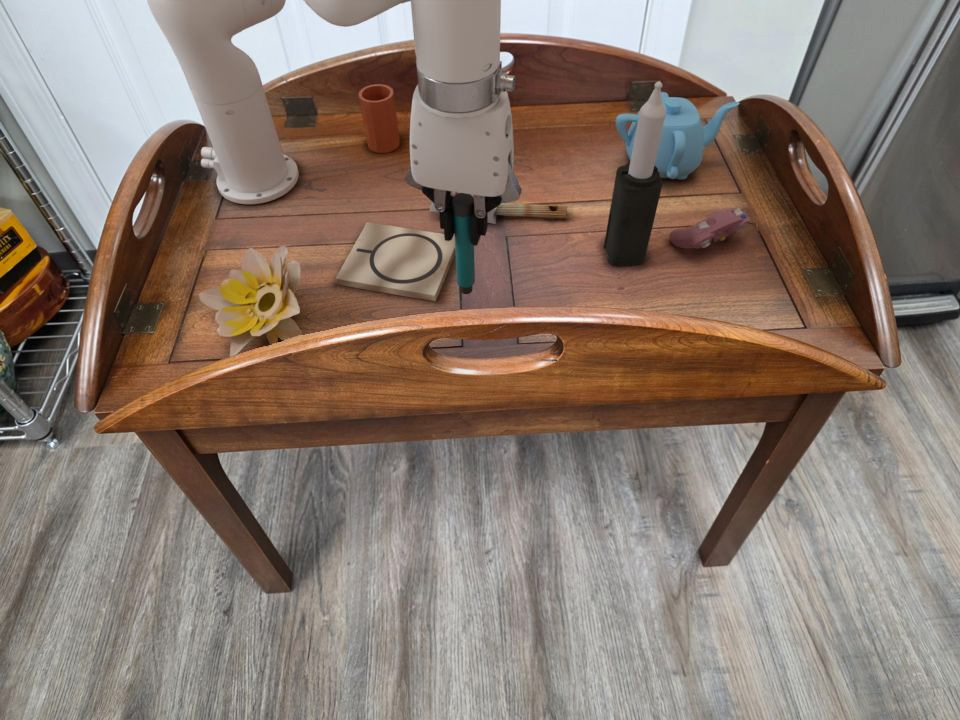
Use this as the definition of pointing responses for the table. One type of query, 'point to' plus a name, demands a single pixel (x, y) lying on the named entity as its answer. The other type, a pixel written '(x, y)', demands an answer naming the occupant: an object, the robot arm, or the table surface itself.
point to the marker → (463, 241)
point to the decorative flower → (257, 300)
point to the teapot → (677, 135)
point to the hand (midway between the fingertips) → (464, 234)
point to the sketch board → (398, 261)
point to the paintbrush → (523, 211)
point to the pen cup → (379, 118)
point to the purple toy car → (710, 229)
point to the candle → (637, 189)
